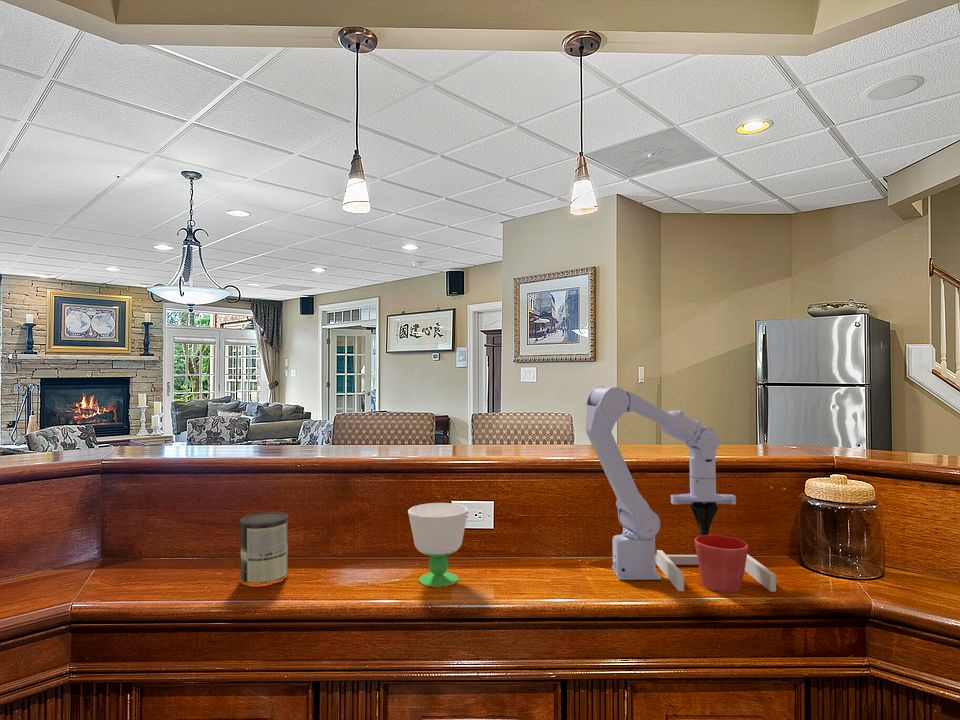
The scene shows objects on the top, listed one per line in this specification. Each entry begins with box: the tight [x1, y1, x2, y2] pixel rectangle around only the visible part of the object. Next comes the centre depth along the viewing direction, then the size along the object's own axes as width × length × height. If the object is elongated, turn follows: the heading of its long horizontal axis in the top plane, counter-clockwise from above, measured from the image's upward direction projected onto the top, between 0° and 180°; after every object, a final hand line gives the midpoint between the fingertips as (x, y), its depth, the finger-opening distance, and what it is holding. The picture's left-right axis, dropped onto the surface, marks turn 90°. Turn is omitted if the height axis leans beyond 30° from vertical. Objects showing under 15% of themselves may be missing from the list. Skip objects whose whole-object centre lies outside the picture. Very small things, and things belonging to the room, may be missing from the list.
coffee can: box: [239, 511, 289, 583], centre depth 130 cm, size 10×10×14 cm
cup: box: [407, 502, 469, 587], centre depth 128 cm, size 14×14×16 cm
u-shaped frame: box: [655, 549, 777, 593], centre depth 129 cm, size 20×18×4 cm
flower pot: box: [694, 534, 749, 593], centre depth 123 cm, size 11×11×10 cm
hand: (703, 534), depth 134 cm, fingers closed
